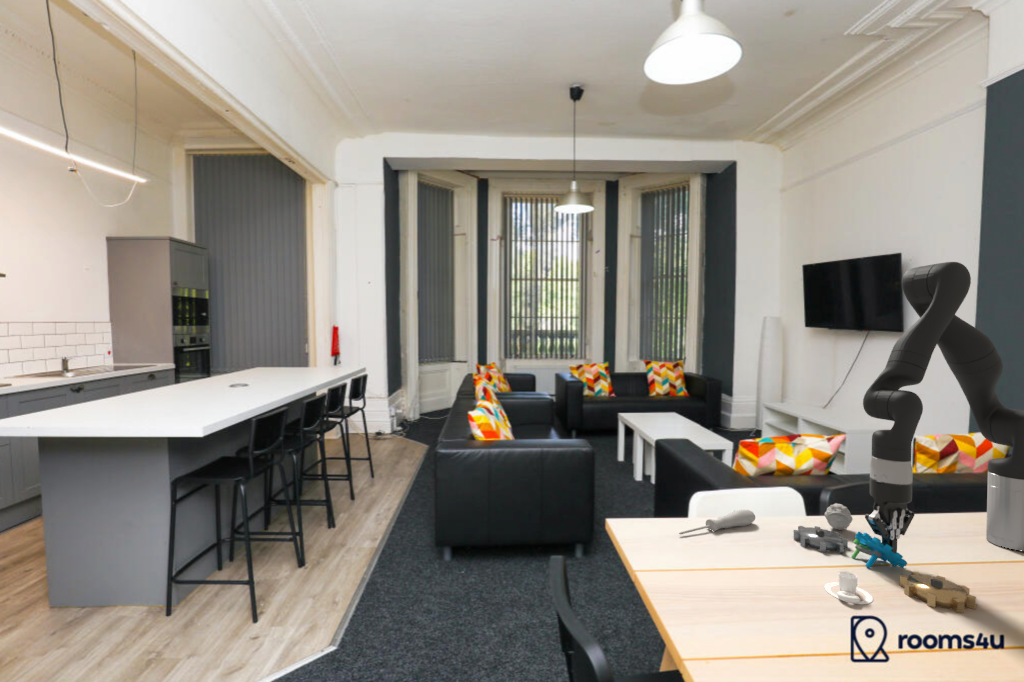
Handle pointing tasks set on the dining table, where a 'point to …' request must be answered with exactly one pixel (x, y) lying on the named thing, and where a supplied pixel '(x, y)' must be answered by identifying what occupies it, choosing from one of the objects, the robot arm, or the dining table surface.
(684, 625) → the dining table surface
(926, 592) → the gear
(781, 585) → the dining table surface
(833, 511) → the grey rounded lump
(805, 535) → the gear
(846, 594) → the teacup and saucer
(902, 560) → the gear
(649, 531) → the dining table surface
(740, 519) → the screwdriver
